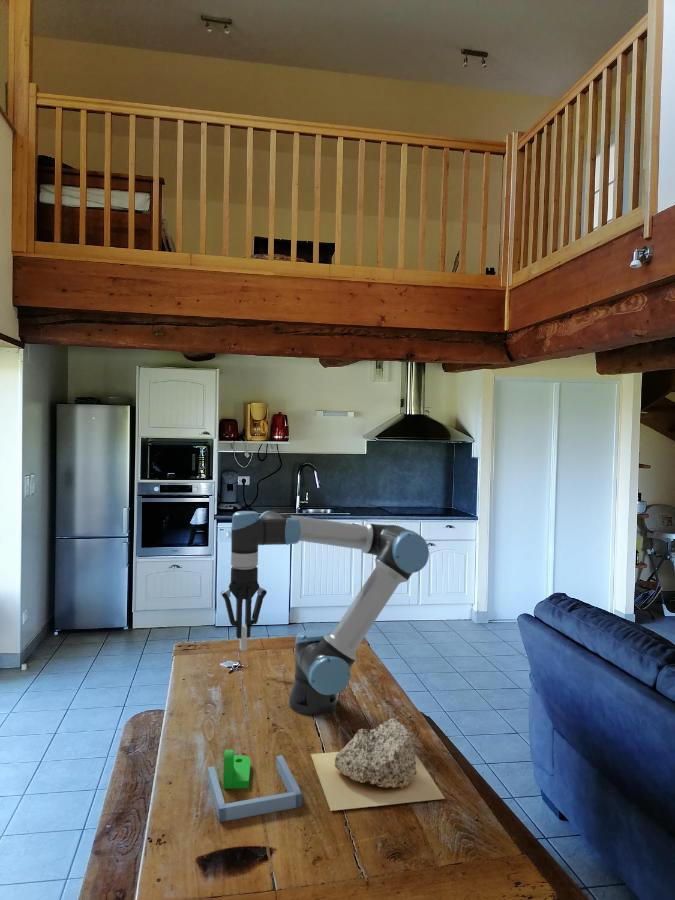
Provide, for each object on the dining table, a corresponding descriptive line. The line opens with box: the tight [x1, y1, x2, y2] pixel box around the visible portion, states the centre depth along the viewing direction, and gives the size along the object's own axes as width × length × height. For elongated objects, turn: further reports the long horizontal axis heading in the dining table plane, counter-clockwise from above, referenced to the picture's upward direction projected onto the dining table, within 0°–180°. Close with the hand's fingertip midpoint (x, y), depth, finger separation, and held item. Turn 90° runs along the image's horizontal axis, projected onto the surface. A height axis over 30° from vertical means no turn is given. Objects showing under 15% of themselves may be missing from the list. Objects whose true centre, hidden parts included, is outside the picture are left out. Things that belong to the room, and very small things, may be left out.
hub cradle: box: [207, 755, 303, 823], centre depth 151 cm, size 19×18×3 cm
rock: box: [310, 718, 446, 812], centre depth 157 cm, size 28×22×16 cm
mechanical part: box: [222, 749, 252, 790], centre depth 158 cm, size 12×6×8 cm, turn 5°
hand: (243, 648), depth 179 cm, fingers closed
